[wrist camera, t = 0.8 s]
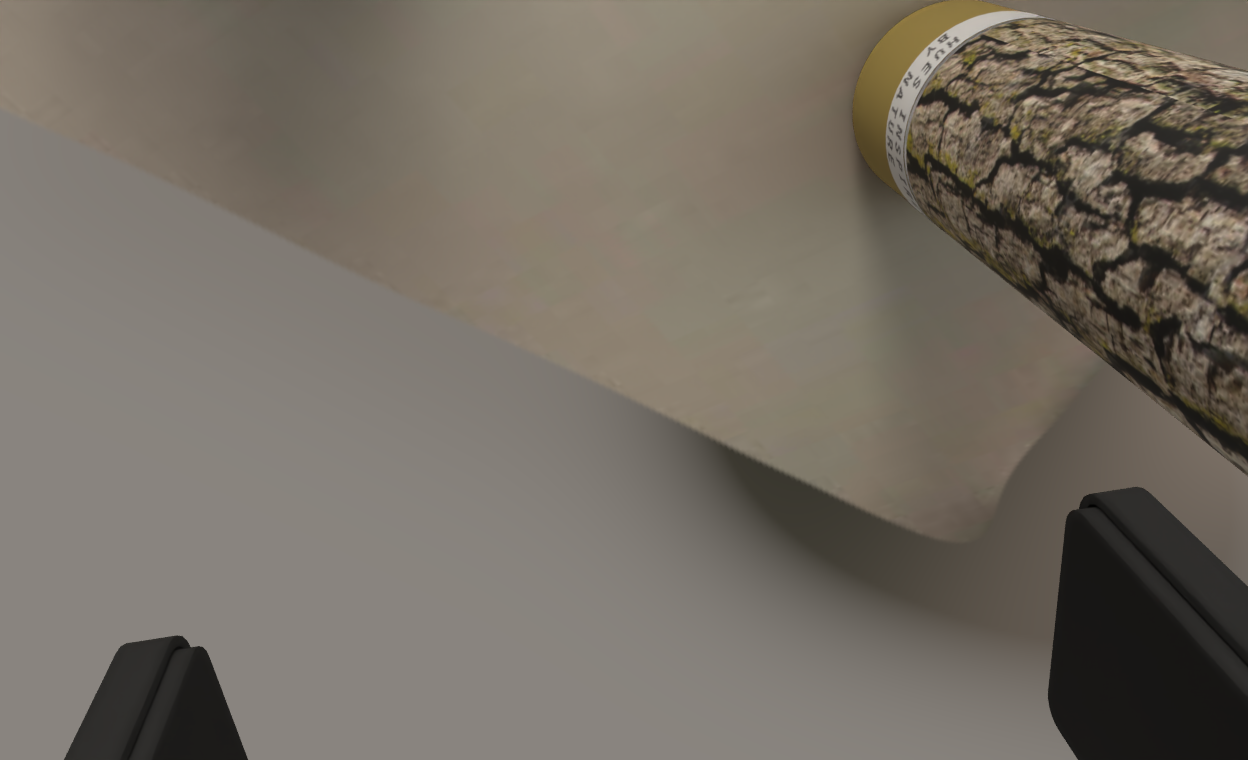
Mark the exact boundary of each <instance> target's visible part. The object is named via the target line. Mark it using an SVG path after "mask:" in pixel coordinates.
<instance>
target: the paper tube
mask: <svg viewBox="0 0 1248 760" xmlns="http://www.w3.org/2000/svg"><path fill="white" fill-rule="evenodd" d="M852 113H853V128H854V133H855V137H856V141H857V144H858V147H859V149H860V151H861V153H862V155H863V157H864V159H865V161H866V162H867V164H868V165H869V167H870V168H871V169H872V171H873V172H874V173H875V174H876V175H877V176H878V177H879V178H880V179H881V180H882V181H883V182H885V183H886V184H887V185H888V186H890V187H891V188H892V189H893V190H895V191H896V192H897V193H898V194H900V195H901V196H902V197H903V198H904V199H906V200H907V201H908V202H909V203H910V204H911V205H913V206H914V207H915V208H916V209H917V210H918V211H919V212H921V213H922V214H923V215H924V216H926V217H927V218H928V219H929V220H931V221H932V222H933V223H934V224H936V225H937V226H938V227H939V228H940V229H942V230H943V231H944V232H945V233H947V234H948V235H949V236H950V237H952V238H953V239H954V240H955V241H957V242H958V243H959V244H960V245H962V246H963V247H964V248H965V249H967V250H968V251H969V252H970V253H971V254H973V255H974V256H975V257H976V258H978V259H979V260H980V261H981V262H983V263H984V264H985V265H986V266H988V267H989V268H990V269H991V270H993V271H994V272H995V273H996V274H998V275H999V276H1000V277H1001V278H1003V279H1004V280H1005V281H1006V282H1007V283H1009V284H1010V285H1011V286H1012V287H1014V288H1015V289H1016V290H1017V291H1019V292H1020V293H1021V294H1022V295H1024V296H1025V297H1026V298H1027V299H1029V300H1030V301H1031V302H1032V303H1034V304H1035V305H1036V306H1037V307H1038V308H1040V309H1041V310H1042V311H1043V312H1045V313H1046V314H1047V315H1048V316H1050V317H1051V318H1052V319H1053V320H1055V321H1056V322H1057V323H1058V324H1060V325H1061V326H1062V327H1063V328H1065V329H1066V330H1067V331H1068V332H1070V333H1071V334H1072V335H1073V336H1074V337H1076V338H1077V339H1078V340H1079V341H1081V342H1082V343H1083V344H1084V345H1086V346H1087V347H1088V348H1089V349H1091V350H1092V351H1093V352H1094V353H1096V354H1097V355H1098V356H1099V357H1101V358H1102V359H1103V360H1104V361H1105V362H1107V363H1108V364H1109V365H1111V366H1112V367H1113V368H1114V369H1115V370H1117V371H1118V372H1119V373H1120V374H1122V375H1123V376H1124V377H1126V378H1127V379H1128V380H1129V381H1130V382H1132V383H1133V384H1134V385H1135V386H1137V387H1138V388H1139V389H1140V390H1142V391H1143V392H1144V393H1145V394H1146V395H1148V396H1149V397H1150V398H1151V399H1153V400H1154V401H1155V402H1156V403H1158V404H1159V405H1160V406H1161V407H1163V408H1164V409H1165V410H1166V411H1168V412H1169V413H1170V414H1171V415H1173V416H1174V417H1175V418H1176V419H1177V420H1179V421H1180V422H1181V423H1182V424H1184V425H1185V426H1186V427H1188V428H1189V429H1190V430H1191V431H1192V432H1194V433H1195V434H1196V435H1198V436H1199V437H1200V438H1201V439H1202V440H1204V441H1205V442H1206V443H1207V444H1209V445H1210V446H1211V447H1212V448H1213V449H1215V450H1216V451H1217V452H1218V453H1220V454H1221V455H1222V456H1223V457H1225V458H1226V459H1227V460H1228V461H1230V462H1231V463H1232V464H1233V465H1235V466H1236V467H1237V468H1238V469H1240V470H1241V471H1242V472H1243V473H1245V474H1246V475H1247V476H1248V71H1246V70H1243V69H1239V68H1235V67H1231V66H1228V65H1224V64H1220V63H1216V62H1213V61H1209V60H1205V59H1201V58H1198V57H1194V56H1190V55H1186V54H1182V53H1179V52H1175V51H1171V50H1167V49H1164V48H1160V47H1156V46H1152V45H1149V44H1145V43H1141V42H1137V41H1134V40H1130V39H1126V38H1122V37H1118V36H1115V35H1111V34H1107V33H1103V32H1100V31H1096V30H1092V29H1088V28H1085V27H1081V26H1077V25H1073V24H1070V23H1066V22H1062V21H1058V20H1054V19H1051V18H1047V17H1043V16H1039V15H1036V14H1031V13H1027V12H1021V11H1017V10H1013V9H1010V8H1006V7H1002V6H999V5H995V4H991V3H987V2H983V1H978V0H950V1H944V2H940V3H936V4H932V5H930V6H927V7H924V8H922V9H920V10H918V11H916V12H914V13H912V14H910V15H909V16H907V17H906V18H904V19H903V20H901V21H900V22H899V23H897V24H896V25H895V26H894V27H893V28H892V29H891V30H889V31H888V32H887V33H886V34H885V36H884V37H883V38H882V39H881V40H880V41H879V42H878V44H877V45H876V46H875V48H874V49H873V50H872V52H871V54H870V55H869V57H868V59H867V60H866V62H865V64H864V66H863V68H862V71H861V73H860V76H859V78H858V82H857V85H856V89H855V94H854V99H853V110H852Z"/></svg>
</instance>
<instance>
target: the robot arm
mask: <svg viewBox="0 0 1248 760" xmlns="http://www.w3.org/2000/svg"><path fill="white" fill-rule="evenodd" d="M1048 700H1049V707H1050V711H1051V714H1052V717H1053V720H1054V722H1055V724H1056V726H1057V727H1058V729H1059V731H1060V733H1061V734H1062V736H1063V737H1064V739H1065V740H1066V742H1067V743H1068V745H1069V747H1070V748H1071V750H1072V751H1073V753H1074V754H1075V756H1076V757H1077V759H1078V760H1248V586H1246V585H1245V583H1243V582H1242V581H1241V580H1240V579H1239V578H1238V577H1237V576H1236V575H1235V574H1234V573H1233V572H1232V571H1231V570H1230V569H1229V568H1228V567H1227V566H1226V565H1225V564H1223V562H1221V561H1220V560H1219V559H1218V558H1217V557H1216V556H1215V555H1214V554H1213V553H1212V552H1211V551H1210V550H1209V549H1208V548H1207V547H1206V546H1205V545H1204V544H1203V543H1202V542H1201V541H1199V539H1197V538H1196V537H1195V536H1194V535H1193V534H1192V533H1191V532H1190V531H1189V530H1188V529H1187V528H1186V527H1185V526H1184V525H1183V524H1182V523H1181V522H1180V521H1179V520H1177V518H1175V517H1174V516H1173V515H1172V514H1171V513H1170V512H1169V511H1168V510H1167V509H1166V508H1165V507H1164V506H1163V505H1162V504H1161V503H1160V502H1159V501H1158V500H1157V499H1156V498H1154V497H1153V496H1152V495H1151V494H1150V493H1149V492H1148V491H1146V490H1145V489H1143V488H1139V487H1132V488H1126V489H1120V490H1113V491H1107V492H1100V493H1094V494H1089V495H1087V496H1085V497H1084V498H1083V500H1082V501H1081V503H1080V507H1079V509H1078V510H1073V511H1071V512H1070V513H1069V514H1068V516H1067V519H1066V525H1065V535H1064V544H1063V554H1062V564H1061V573H1060V583H1059V592H1058V602H1057V611H1056V621H1055V632H1054V640H1053V650H1052V659H1051V669H1050V679H1049V688H1048ZM64 760H248V759H247V756H246V753H245V750H244V748H243V745H242V742H241V740H240V737H239V734H238V732H237V729H236V726H235V724H234V721H233V719H232V716H231V713H230V711H229V708H228V705H227V703H226V700H225V697H224V695H223V692H222V689H221V687H220V684H219V681H218V679H217V676H216V673H215V671H214V668H213V665H212V663H211V660H210V658H209V655H208V653H207V651H206V650H205V649H204V648H203V647H200V646H198V647H190V645H189V643H188V642H187V640H186V639H185V638H183V636H171V637H165V638H158V639H152V640H146V641H139V642H132V643H126V644H124V645H123V646H121V647H120V648H119V650H118V651H117V653H116V654H115V656H114V659H113V661H112V662H111V664H110V666H109V669H108V671H107V673H106V675H105V677H104V679H103V681H102V683H101V685H100V687H99V689H98V691H97V693H96V695H95V697H94V699H93V701H92V703H91V705H90V708H89V710H88V712H87V714H86V716H85V718H84V720H83V722H82V724H81V726H80V728H79V730H78V732H77V734H76V736H75V738H74V740H73V742H72V744H71V747H70V749H69V751H68V753H67V755H66V757H65V759H64Z"/></svg>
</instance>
